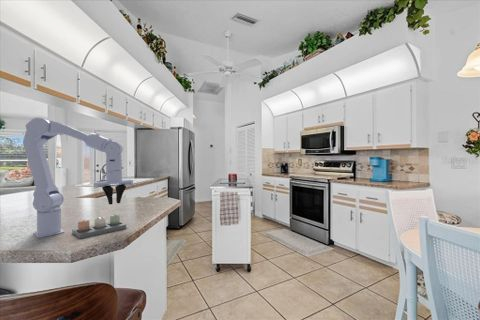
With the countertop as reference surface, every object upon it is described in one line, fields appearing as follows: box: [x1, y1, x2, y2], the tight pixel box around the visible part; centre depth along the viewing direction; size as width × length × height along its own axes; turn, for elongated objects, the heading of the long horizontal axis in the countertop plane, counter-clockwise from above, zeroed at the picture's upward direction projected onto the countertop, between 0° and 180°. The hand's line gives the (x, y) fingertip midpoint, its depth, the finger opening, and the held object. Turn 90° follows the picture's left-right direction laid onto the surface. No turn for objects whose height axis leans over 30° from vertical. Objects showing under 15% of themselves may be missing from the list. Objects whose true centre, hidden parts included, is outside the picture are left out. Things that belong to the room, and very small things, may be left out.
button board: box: [71, 221, 127, 239], centre depth 91 cm, size 10×16×2 cm, turn 139°
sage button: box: [109, 213, 121, 225], centre depth 95 cm, size 4×4×4 cm
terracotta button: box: [77, 219, 91, 232], centre depth 87 cm, size 4×4×4 cm
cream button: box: [94, 216, 106, 228], centre depth 91 cm, size 4×4×4 cm
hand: (114, 203), depth 95 cm, fingers open, 2 cm apart
